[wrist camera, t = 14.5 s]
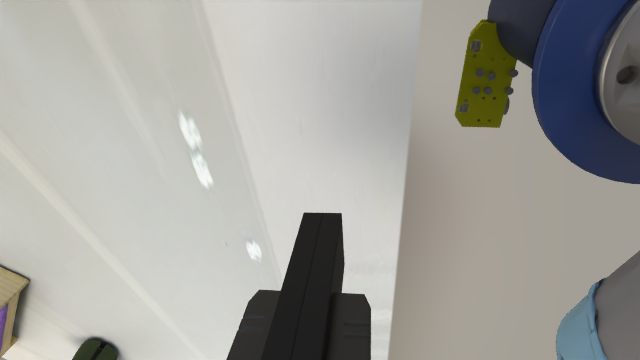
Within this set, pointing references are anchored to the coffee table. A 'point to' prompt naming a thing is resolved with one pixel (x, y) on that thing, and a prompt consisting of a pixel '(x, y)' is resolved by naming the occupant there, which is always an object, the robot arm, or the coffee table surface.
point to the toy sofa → (8, 306)
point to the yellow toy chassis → (485, 79)
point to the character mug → (94, 352)
